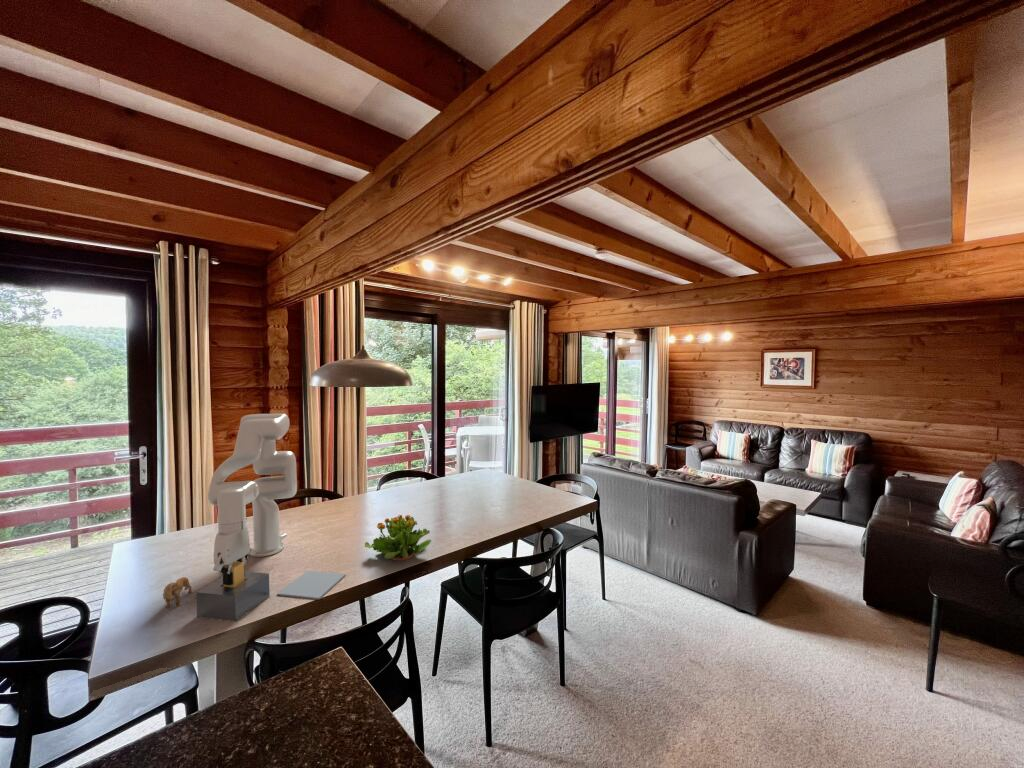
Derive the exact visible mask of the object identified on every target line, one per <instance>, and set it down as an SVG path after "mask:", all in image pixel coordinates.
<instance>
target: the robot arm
mask: <svg viewBox="0 0 1024 768" xmlns="http://www.w3.org/2000/svg"><path fill="white" fill-rule="evenodd" d="M240 418H241V419H240V425H239V429H238V432H237V435H236V442H235V446H234V449H233V453H232V455H230V456H229V457H228V458H227V459H225V460H224V461H223V462H222V463H221V464H219V466H218V467H217V468H216V470H215V471H213V474H212V477H211V480H210V484H209V488H208V494H207V499H208V502H209V504H211V505H213V506H217V529H218V533H216V536H215V539H214V545H213V546H214V547H213V564H214V566H213V569H212V570H213V571H217V572H220V574H222V577H223V584H224V585H232V584H233V572H231V568H232V563H233V562H244V577H245V565H246V564H247V559H248V557H249V555H250V556H251V557H255V558H256V557H257V558H260V557H261V558H264V557H267V556H272V555H275V554H278V553H279V552H281V551H283V549H284V548H285V544H284V542H282V541H283V540H284V539H286V538H287V537H288V536H287V533H285V532H284V533H282V534H280V508H279V506H278V504H277V503H276V501H275V500H279V499H289V498H293V497H295V495H297V490H298V476H297V458H296V456H295V453H294V452H293V451H290V450H280V451H277V449H276V441H278V440H281V439H282V438H283V437H284V436H285V435H286V433H288V431H289V429H290V422H291V421H290V418H289V416H288V415H287V414H286V413H256V414H254V413H253V414H252V413H251V414H247V415H246V414H245V415H243V416H242V417H240ZM251 465H252V469H253V472H254V474H256V475H258V476H259V475H260V476H262V475H263V476H265V475H266V476H265V477H257V478H256V479H254V480H238V481H226V479H227V478H228V477H229V476H230V475H231V474H233V473H235V472H236V471H239V470H241V469H243V468H246V467H247V466H251ZM278 474H281V475H279V476H267V475H278ZM225 481H226V482H225ZM250 503H252V504H251V505H252V522H253V547H252V548H251V542H250V534H249V530H248V526H247V520H248V519H247V515H246V514H247V513H246V512H247V511H246V510H247V509H246V505H248V504H250ZM226 566H227V568H226Z"/></svg>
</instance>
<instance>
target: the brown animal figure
mask: <svg viewBox="0 0 1024 768" xmlns="http://www.w3.org/2000/svg"><path fill="white" fill-rule="evenodd" d="M164 587H165V588H164V589H163V594H162V596H163V600H165V604H166V607H165V610H170V608H171V602H173V601H175V604H174V605H175V607H176V608H179V607H181V606H182V605H181V603H180V598H181V596H180V594H181V592H182V591H183V590H184V591H187V590H188V591H187V595H189V594H192V593H193V591H192V586H191V584H190V580H189V578H188V577H186V576H182V577H179V578H178V579H177V580H175V582H171V583H168V584H167V585H165V586H164ZM184 587H185V588H184ZM183 588H184V589H183Z"/></svg>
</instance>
